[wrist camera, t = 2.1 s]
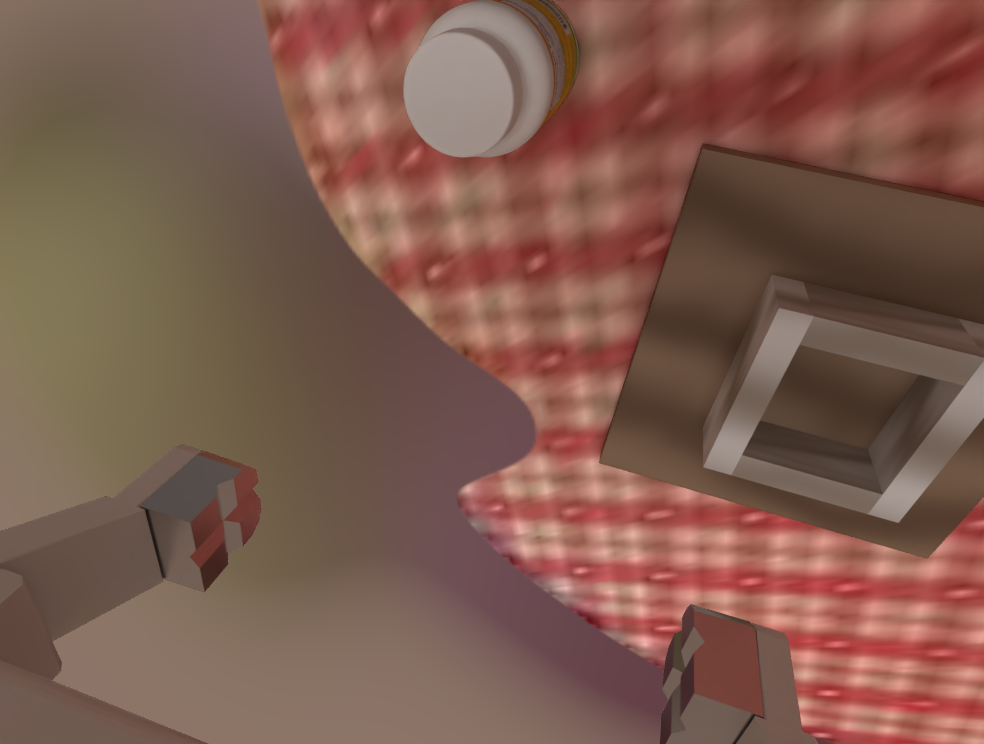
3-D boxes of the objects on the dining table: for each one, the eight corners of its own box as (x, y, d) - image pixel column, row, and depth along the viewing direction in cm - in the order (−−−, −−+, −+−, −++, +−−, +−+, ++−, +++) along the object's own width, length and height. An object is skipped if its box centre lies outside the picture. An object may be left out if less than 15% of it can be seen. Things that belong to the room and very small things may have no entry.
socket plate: (702, 143, 28) (703, 171, 25) (1187, 244, 25) (1267, 292, 22) (601, 452, 40) (591, 501, 36) (922, 545, 37) (946, 609, 33)
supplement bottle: (474, 122, 30) (397, 179, 23) (461, -4, 28) (368, 13, 20) (581, 118, 29) (537, 179, 21) (580, -15, 26) (530, -1, 18)
